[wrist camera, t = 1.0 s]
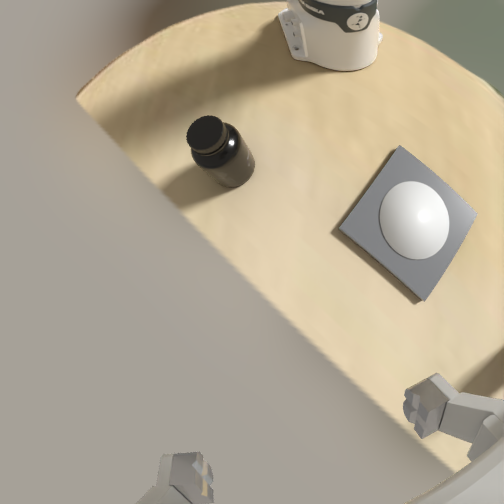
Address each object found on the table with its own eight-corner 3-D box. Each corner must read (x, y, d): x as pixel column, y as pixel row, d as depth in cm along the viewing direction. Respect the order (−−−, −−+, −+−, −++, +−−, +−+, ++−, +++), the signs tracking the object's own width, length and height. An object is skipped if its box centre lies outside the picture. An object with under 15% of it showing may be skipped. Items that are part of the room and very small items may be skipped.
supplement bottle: (265, 164, 41) (245, 126, 30) (233, 197, 42) (202, 170, 30) (233, 139, 43) (206, 99, 31) (204, 170, 44) (167, 139, 32)
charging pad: (338, 229, 38) (339, 227, 37) (397, 148, 37) (399, 144, 36) (421, 300, 35) (425, 301, 33) (474, 215, 33) (478, 213, 32)
